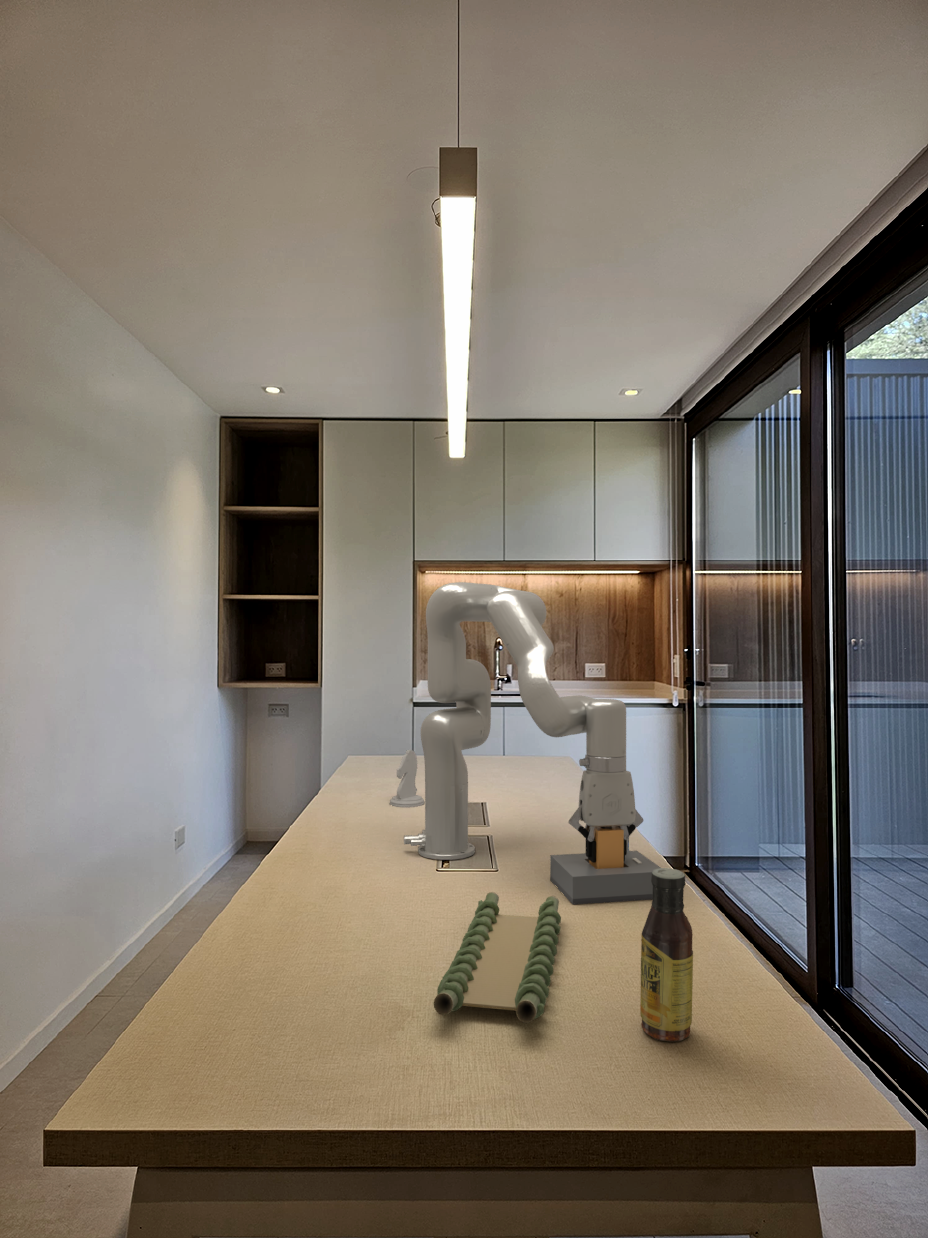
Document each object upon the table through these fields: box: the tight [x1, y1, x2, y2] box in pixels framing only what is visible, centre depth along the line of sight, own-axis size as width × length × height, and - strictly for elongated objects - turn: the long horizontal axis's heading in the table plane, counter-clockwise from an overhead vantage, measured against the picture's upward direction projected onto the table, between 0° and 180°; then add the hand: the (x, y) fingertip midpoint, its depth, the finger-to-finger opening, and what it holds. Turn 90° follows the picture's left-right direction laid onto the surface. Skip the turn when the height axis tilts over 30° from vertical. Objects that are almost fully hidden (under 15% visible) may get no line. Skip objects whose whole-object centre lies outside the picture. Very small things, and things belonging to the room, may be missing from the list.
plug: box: [589, 826, 624, 869], centre depth 154 cm, size 5×5×9 cm
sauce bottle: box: [639, 867, 694, 1042], centre depth 100 cm, size 6×6×20 cm
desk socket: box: [549, 850, 662, 905], centre depth 154 cm, size 18×14×5 cm
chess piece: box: [389, 749, 425, 808], centre depth 228 cm, size 10×10×15 cm
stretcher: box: [433, 891, 562, 1024], centre depth 119 cm, size 41×14×5 cm, turn 169°
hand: (606, 858), depth 154 cm, fingers closed on plug, 4 cm apart
